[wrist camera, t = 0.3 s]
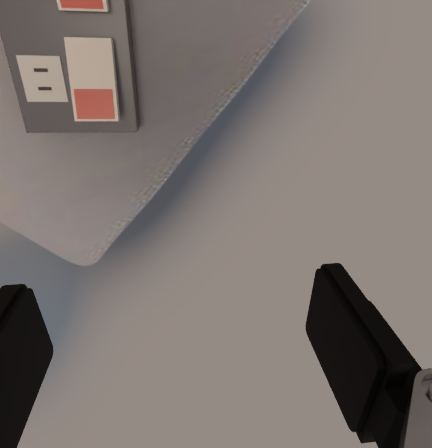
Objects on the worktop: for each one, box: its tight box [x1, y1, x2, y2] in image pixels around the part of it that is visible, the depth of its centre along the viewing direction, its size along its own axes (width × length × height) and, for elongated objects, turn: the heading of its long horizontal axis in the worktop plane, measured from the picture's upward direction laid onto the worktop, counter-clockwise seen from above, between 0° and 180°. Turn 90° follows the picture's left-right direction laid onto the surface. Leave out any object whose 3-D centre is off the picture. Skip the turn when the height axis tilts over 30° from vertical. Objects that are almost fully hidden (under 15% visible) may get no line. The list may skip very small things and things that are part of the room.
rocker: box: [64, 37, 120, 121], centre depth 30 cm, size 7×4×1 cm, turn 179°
